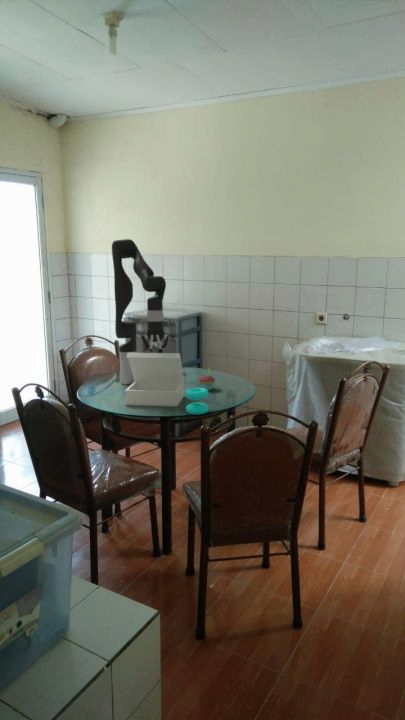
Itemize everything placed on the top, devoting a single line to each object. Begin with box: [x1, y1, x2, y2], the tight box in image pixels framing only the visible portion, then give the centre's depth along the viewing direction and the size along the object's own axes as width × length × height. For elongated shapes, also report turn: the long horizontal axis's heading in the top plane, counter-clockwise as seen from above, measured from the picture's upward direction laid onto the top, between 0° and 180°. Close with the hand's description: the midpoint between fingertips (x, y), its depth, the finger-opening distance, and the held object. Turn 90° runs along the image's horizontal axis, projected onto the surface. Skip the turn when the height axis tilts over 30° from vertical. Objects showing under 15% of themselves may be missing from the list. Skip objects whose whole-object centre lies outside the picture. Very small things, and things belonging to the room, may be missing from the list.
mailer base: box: [124, 381, 185, 408], centre depth 239 cm, size 17×24×7 cm
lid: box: [126, 346, 185, 383], centre depth 241 cm, size 18×24×8 cm
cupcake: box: [197, 367, 216, 391], centre depth 258 cm, size 9×8×12 cm
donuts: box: [184, 387, 210, 416], centre depth 221 cm, size 10×10×10 cm
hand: (156, 356), depth 240 cm, fingers closed on lid, 3 cm apart
